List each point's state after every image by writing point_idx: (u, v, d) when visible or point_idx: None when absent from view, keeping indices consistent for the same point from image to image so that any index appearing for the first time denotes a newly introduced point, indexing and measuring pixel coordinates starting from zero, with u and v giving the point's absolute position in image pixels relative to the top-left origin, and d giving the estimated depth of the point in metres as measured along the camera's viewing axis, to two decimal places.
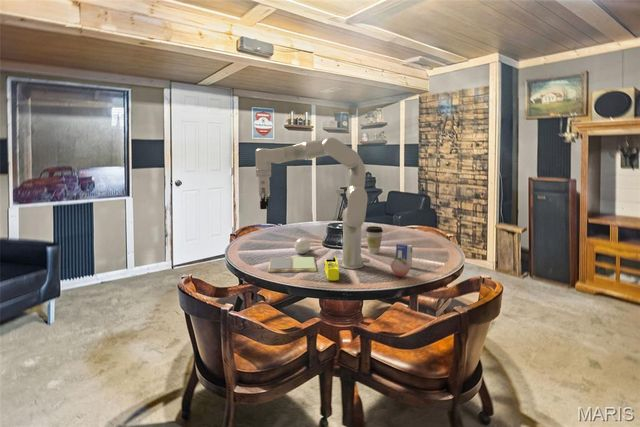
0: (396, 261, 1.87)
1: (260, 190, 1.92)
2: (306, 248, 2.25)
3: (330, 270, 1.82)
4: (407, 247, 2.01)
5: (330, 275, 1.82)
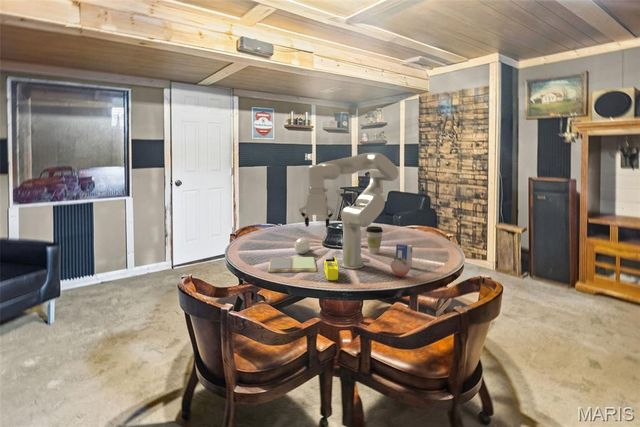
0: (396, 261, 1.87)
1: (326, 208, 1.85)
2: (306, 248, 2.25)
3: (329, 270, 1.82)
4: (407, 247, 2.01)
5: (329, 275, 1.82)
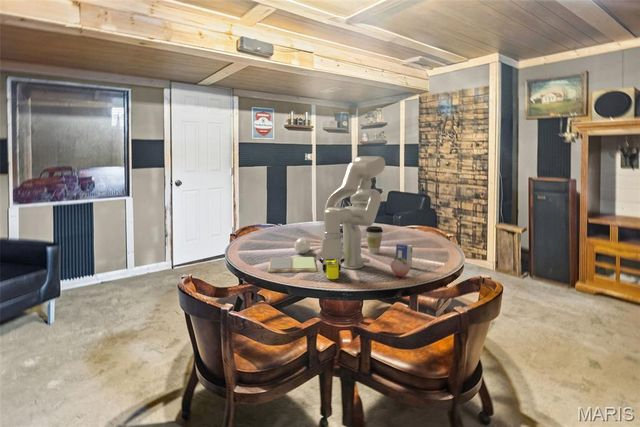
0: (396, 261, 1.87)
1: (342, 252, 1.87)
2: (306, 248, 2.25)
3: (330, 269, 1.83)
4: (407, 247, 2.01)
5: (330, 274, 1.83)
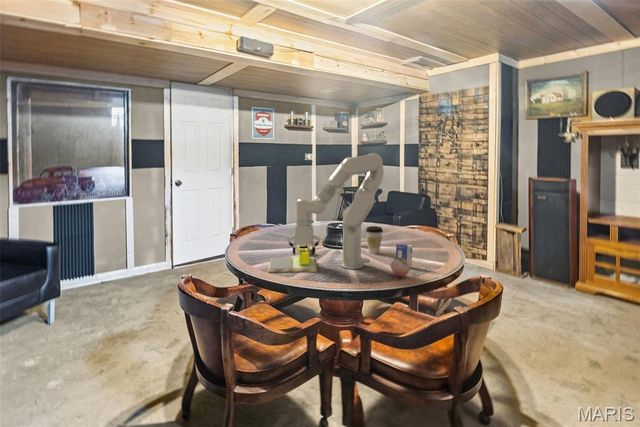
0: (396, 261, 1.87)
1: (313, 237, 2.03)
2: None
3: (301, 255, 2.00)
4: (407, 247, 2.01)
5: (301, 260, 2.00)
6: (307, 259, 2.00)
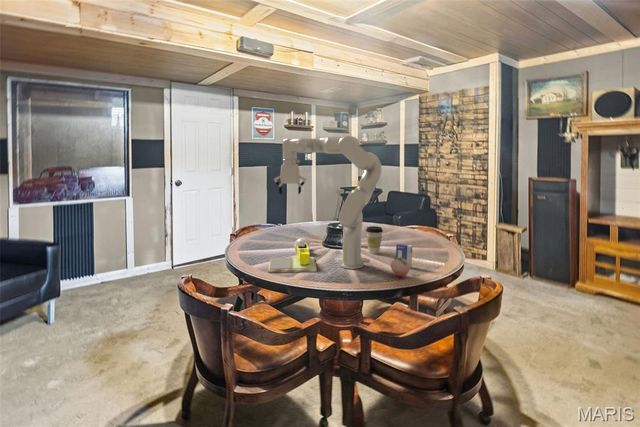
0: (396, 261, 1.87)
1: (299, 177, 2.09)
2: None
3: (301, 255, 2.00)
4: (407, 247, 2.01)
5: (301, 259, 2.00)
6: (307, 259, 2.01)
